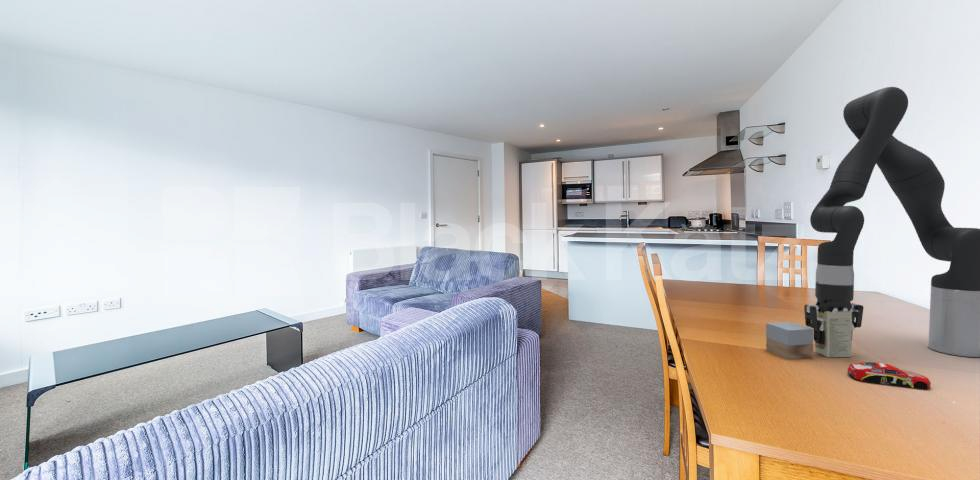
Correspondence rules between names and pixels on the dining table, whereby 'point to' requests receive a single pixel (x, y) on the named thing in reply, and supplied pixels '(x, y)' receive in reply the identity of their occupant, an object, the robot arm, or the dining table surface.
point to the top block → (789, 333)
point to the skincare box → (836, 334)
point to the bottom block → (790, 350)
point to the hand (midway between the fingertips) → (832, 343)
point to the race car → (887, 375)
